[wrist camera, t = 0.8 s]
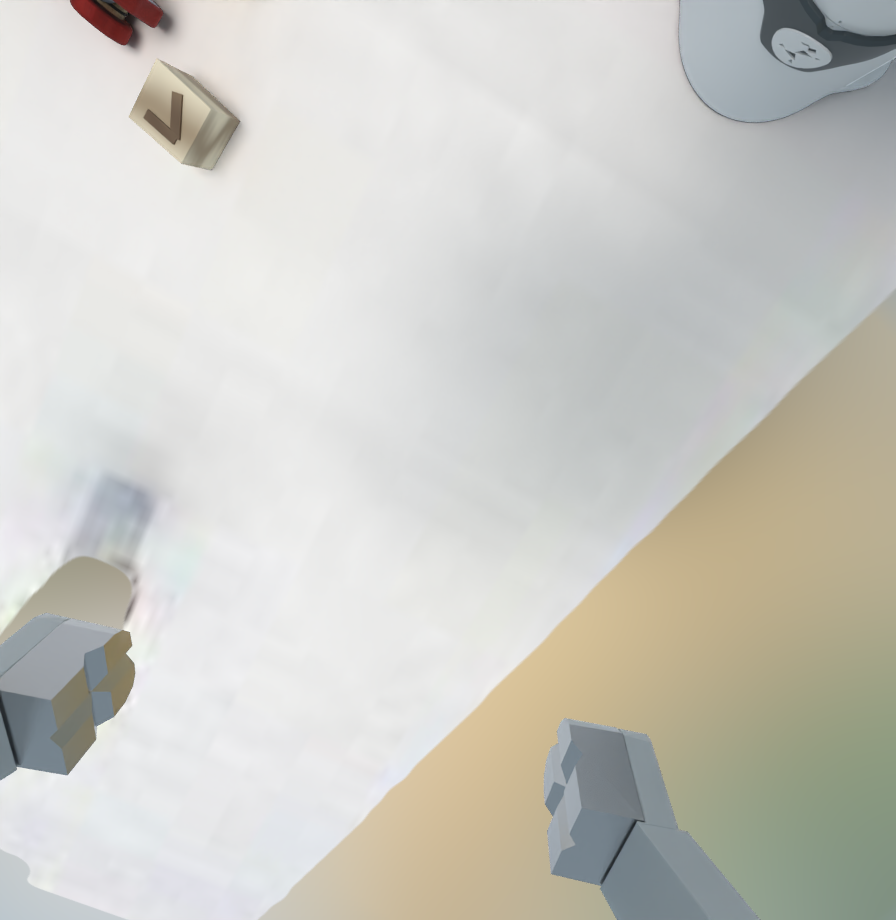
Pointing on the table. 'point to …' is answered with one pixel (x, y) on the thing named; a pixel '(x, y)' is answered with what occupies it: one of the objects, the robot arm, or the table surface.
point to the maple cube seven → (183, 116)
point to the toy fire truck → (117, 15)
